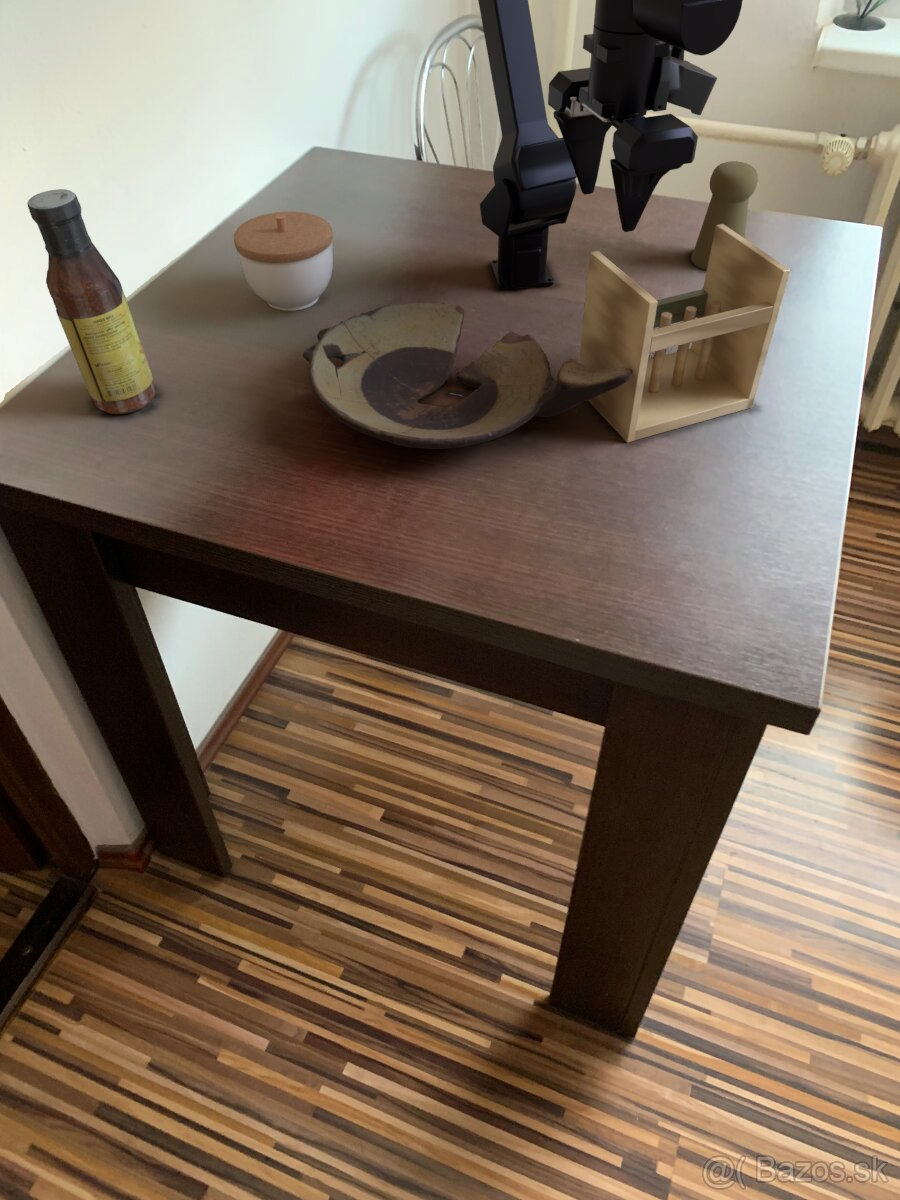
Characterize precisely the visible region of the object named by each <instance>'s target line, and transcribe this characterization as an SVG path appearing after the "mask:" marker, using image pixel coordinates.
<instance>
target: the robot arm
mask: <svg viewBox="0 0 900 1200" xmlns="http://www.w3.org/2000/svg"><path fill="white" fill-rule="evenodd" d="M477 1H478V7H479V12H480V18H481V24H482V30H483V35H484V42H485V46H486V51H487V52H486V53H487V58H488V64H489V69H490V74H491V80H492V87H493V91H494V97H495V102H496V103H495V104H496V108H497V115H498V120H499V125H500V132H501V139H500V142H499V146H498V148H497V152H496V155H495V158H494V161H493V165H492V173H493V183H494V185H493V187H492V188H491V189H490V190H489V191H488V193H487V194H486V195H485V196H484V198H483V199H482V200H481V202H480V203H479V209H480V216H481V218H480V219H481V223H482V225H483V226H485V228H487V229H488V230H490V231H491V232H492V233H493V234H495V235H496V236H497V237H498V238H497V239H498V240H497V259H493V260H490V268H491V271H492V273H493V276H494V279H495V282H496V285H497V287H498V288H499V289H500V290H509V289H510V290H512V289H521V288H522V289H523V288H524V289H525V288H535V287H536V288H537V287H549V286H553V285H554V284H555V283H554V278H553V275H552V273H551V270H550V269H549V266H548V263H547V262H548V261H547V259H548V247H549V246H548V243H549V231H550V227H552V226H556V225H559V224H561V225H563V224H566V223H567V220H568V217H569V215H570V211H571V208H572V205H573V202H574V199H575V196H576V192H577V181H578V185H579V188H580V191H581V193H582V194H583V195H584V196H585V195H586V196H587V195H591V194H593V193H594V192H595V187H596V184H597V181H598V175H599V170H600V166H601V159H602V154H603V149H604V144H605V139H606V135H607V133H608V132H609V130H610V129H611V127H613V128H615V131H614V132H613V136H612V144H611V145H612V146H611V147H612V151H613V156H614V158H611V159H610V160H609V164H610V169H611V176H612V181H613V187H614V193H615V197H616V198H615V199H616V204H617V210H618V216H619V221H620V225H621V230H622V231H623V232H624V233H629V232H633V231H635V229H636V228H637V226H638V223H640V220H641V217H642V216H643V213H644V212H645V209H646V207H647V205H648V203H649V202H650V201H649V200H650V198H651V197H652V195H653V193H654V192H655V189H656V187H657V185H658V184H659V182H660V180H661V179H662V178H663V177H664V176H665V175H666V174H667V173H669V172H671V171H673V170H678V169H680V168H682V167H683V166H684V165H687V164H688V165H689V164H692V163H693V162H694V160H695V157H696V152H697V151H696V150H697V145H698V139H699V136H698V135H697V133H696V132H695V131H694V129H693V128H692V127H691V126H690V125H689V124H687V123H685V122H684V121H683V120H681V119H680V118H679V117H677V116H675V115H674V114H672V113H666V114H660V115H652V116H651V115H650V116H647V112H648V111H652V112H654V113H655V112H662V111H666V110H667V107H668V104H671V105H674V106H677V107H680V108H683V109H686V110H689V111H690V113H691V114H693V115H696V116H701V115H702V113H703V111H704V109H705V106H706V105H707V102H708V100H709V98H710V96H711V93H712V91H713V89H714V87H715V84H716V82H717V80H718V77H717V76H716V75H714V74H712V73H710V72H708V71H706V70H705V69H703V68H701V67H700V66H698V65H696V64H693V63H691V62H690V61H688V60H685V52H687V53H690V54H693V55H694V56H706V55H709V54H711V53H713V52H716V51H717V49H719V48H720V47H721V46H723V44H725V42H726V41H727V40H728V38H730V35H731V34H732V33H733V31H734V29H735V27H736V25H737V23H738V20H739V18H740V16H741V15H740V14H741V10H742V7H743V0H595V4H594V16H593V28H592V29H593V30H592V33H589V34H588V33H587V34H584V35H583V41H582V49H583V50H584V51H586V52H588V53H589V54H590V61H589V62H590V64H589V67H583V68H576V69H575V68H574V69H567V70H559V71H558V72H557V73H556V74H555V75H554V76H553V78H552V79H551V80H550V81H549V83H548V94H547V95H548V97H547V105H548V106H549V107H550V108H551V109H553V110H554V111H553V112H552V113H553V115H552V116H553V118H554V119H555V120H556V123H557V125H558V129H559V131H560V133H561V136H562V137H559V136H558V135H557V134H556V133H555V131H554V130H553V128H552V127H551V126H550V125H549V121H548V116H547V110H546V104H545V98H544V92H543V85H542V79H541V74H540V73H541V72H540V67H539V60H538V54H537V53H538V52H537V48H536V41H535V35H534V30H533V29H534V27H533V22H532V16H531V10H530V4H529V0H477ZM576 179H577V181H576Z"/></svg>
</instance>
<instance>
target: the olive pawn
mask: <svg viewBox="0 0 900 1200" xmlns="http://www.w3.org/2000/svg"><path fill="white" fill-rule="evenodd" d="M758 181H759V174H758V172H757V169H756V168H755V167H754V166H752V165H751V164H749V163H747V162H743V161H737V160H736V161H735V160H731V161H725V162H722V163H720V164H718V165H717V166H716V167H715V168H714V169H713V171H712V173H711V176H710V179H709V189H710V192H711V198H710V200H709V201H710V202H709V204H708V206H707V210H706V213H705V215H704V218H703V221H702V224H701V228H700V231H699V234H698V237H697V240H696V243H695V246H694V248H693V252H692V255H691V261H692V263H693V264H694V265H695V266H696V267H698V268H700V269H702V270H706V271H707V267H708V262H709V257H710V252H711V248H712V243H713V238H714V233H715V228H716V225H719V224H724V225H725V226H727V227H728V228H730V229H731V230H733V231H734V232H736V233H737V234H739V235H740V236H742V237H743V238H745V239H746V229H747V221H748V210H749V199H750V198H751V197H752V196H753V195H754V193H755V191H756V189H757V185H758Z"/></svg>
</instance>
